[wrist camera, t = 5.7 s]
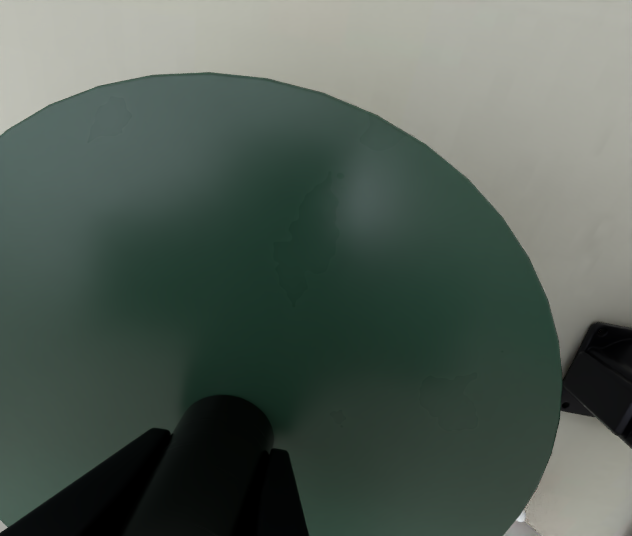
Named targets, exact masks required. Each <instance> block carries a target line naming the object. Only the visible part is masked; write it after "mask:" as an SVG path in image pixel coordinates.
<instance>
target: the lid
mask: <svg viewBox="0 0 632 536" xmlns="http://www.w3.org/2000/svg"><path fill="white" fill-rule="evenodd" d="M562 383H563V380H562V369H561V358H560V347H559V340H558V336H557V332H556V328H555V325H554V321H553V317H552V313H551V309H550V306H549V302H548V299H547V297H546V295H545V292H544V290H543V288H542V286H541V283H540V281H539V279H538V277H537V274H536V272H535V270H534V268H533V265H532V263H531V261H530V259H529V257H528V255H527V254H526V252H525V251H524V249H523V248H522V246H521V245H520V243H519V242H518V240H517V239H516V237H515V235H514V234H513V232H512V231H511V229H510V228H509V226H508V225H507V223H506V222H505V220H504V219H503V217H502V216H501V215H500V214H499V213H498V212H497V211H496V209H495V208H494V207H493V206H492V205H491V204H490V203H489V202H488V201H487V199H486V198H485V197H484V196H483V195H482V194H481V193H480V192H479V191H478V189H477V188H476V187H475V186H474V185H473V184H472V183H471V182H470V181H469V179H467V178H466V177H465V176H464V175H463V174H461V173H460V172H459V171H458V170H457V169H455V168H454V167H453V166H452V165H450V164H449V163H448V162H447V161H446V160H444V159H443V158H442V157H441V156H439V155H438V154H437V153H436V152H435V151H433V150H432V149H431V148H430V147H429V146H427V145H426V144H424V143H423V142H421V141H419V140H418V139H416V138H414V137H413V136H411V135H409V134H408V133H406V132H404V131H403V130H401V129H399V128H398V127H396V126H394V125H393V124H391V123H389V122H388V121H386V120H384V119H383V118H381V117H379V116H378V115H376V114H373V113H371V112H368V111H366V110H364V109H361V108H359V107H356V106H354V105H352V104H349V103H347V102H344V101H342V100H340V99H337V98H335V97H332V96H330V95H328V94H325V93H322V92H318V91H315V90H311V89H307V88H303V87H299V86H295V85H291V84H287V83H283V82H279V81H276V80H272V79H268V78H259V77H250V76H240V75H231V74H221V73H211V72H204V73H183V74H161V75H150V76H145V77H140V78H135V79H130V80H125V81H120V82H115V83H110V84H106V85H101V86H97V87H95V88H92V89H89V90H87V91H84V92H82V93H79V94H76V95H74V96H71V97H69V98H66V99H63V100H61V101H58V102H55V103H53V104H50V105H48V106H47V107H45V108H43V109H41V110H40V111H38V112H36V113H35V114H33V115H31V116H30V117H28V118H26V119H25V120H23V121H21V122H20V123H18V124H16V125H14V126H13V127H11V128H9V129H8V130H6V131H5V132H4V133H3V134H2V135H1V136H0V520H1V521H2V522H3V523H4V524H5V525H6V526H7V527H9V526H11V525H12V524H14V523H15V522H17V521H18V520H19V519H21V518H22V517H24V516H25V515H27V514H28V513H30V512H31V511H32V510H34V509H35V508H37V507H38V506H40V505H41V504H43V503H44V502H45V501H47V500H48V499H50V498H51V497H53V496H54V495H55V494H57V493H58V492H60V491H61V490H63V489H64V488H66V487H67V486H68V485H70V484H71V483H73V482H74V481H76V480H77V479H79V478H80V477H81V476H83V475H84V474H86V473H87V472H89V471H90V470H91V469H93V468H94V467H96V466H97V465H99V464H100V463H102V462H103V461H104V460H106V459H107V458H109V457H110V456H112V455H113V454H115V453H116V452H117V451H119V450H120V449H122V448H123V447H125V446H126V445H127V444H129V443H130V442H132V441H133V440H135V439H136V438H138V437H139V436H140V435H142V434H143V433H145V432H146V431H148V430H149V429H151V428H162V429H167V430H169V431H170V433H171V436H170V437H169V439H168V441H167V442H166V444H165V446H164V447H163V449H162V450H161V452H160V454H159V455H158V457H157V459H156V460H155V462H154V464H153V465H152V467H151V469H150V470H149V472H148V473H147V475H146V477H145V478H144V480H143V482H142V483H141V485H140V487H139V488H138V490H137V492H136V493H135V495H134V496H133V498H132V500H131V501H130V503H129V505H128V506H127V508H126V510H125V511H124V513H123V514H122V516H121V518H120V519H119V521H118V523H117V524H116V526H115V528H114V529H113V531H112V533H111V534H110V536H254V531H255V524H256V517H257V511H258V505H259V499H260V494H261V489H262V485H263V480H264V476H265V472H266V467H267V463H268V459H269V454H270V451H271V449H272V448H277V449H283V450H287V451H288V453H289V456H290V460H291V464H292V468H293V472H294V476H295V480H296V484H297V488H298V492H299V496H300V500H301V504H302V508H303V512H304V517H305V521H306V525H307V529H308V533H309V536H503V535H504V534H505V533H506V532H507V530H508V529H509V528H510V527H511V526H512V524H513V523H514V522H515V521H516V520H517V518H518V517H519V516H520V515H521V513H522V511H523V510H524V508H525V506H526V505H527V503H528V502H529V500H530V498H531V497H532V495H533V493H534V492H535V490H536V488H537V487H538V485H539V482H540V480H541V478H542V475H543V473H544V470H545V468H546V466H547V463H548V461H549V458H550V456H551V453H552V449H553V445H554V441H555V437H556V433H557V429H558V425H559V420H560V410H561V397H562Z"/></svg>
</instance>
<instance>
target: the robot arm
mask: <svg viewBox="0 0 632 536" xmlns="http://www.w3.org/2000/svg"><path fill="white" fill-rule="evenodd" d="M601 329H602V330H601ZM600 330H601V331H600ZM599 331H600V332H599ZM598 332H599V333H598ZM561 411H564V412H570V413H575V414H581V415H586V416H592V417H596V418H597V419H598V420H600V421H601V422H602V423H603V424H604V425H605V426H606V427H607V428H608V429H609V430H610V431H611V432H612V433H614V434H615V435H617V436H618V437H620V438H621V439H622V440H623V441H624V442H625V443H626V444H627V445H628V446H629V447H630V448H631V449H632V328H629V327H623V326H618V325H613V324H607V323H602V322H597V323H594V324H593V325H591V327H590V328H589V330H588V332H587V334H586V336H585V338H584V340H583V342H582V344H581V346H580V348H579V350H578V352H577V354H576V356H575V358H574V360H573V363H572V365H571V367H570V369H569V371H568V373H567V375H566V377H565V379H564V381H563V383H562V397H561ZM170 436H171V433H170V431H169V430H167V429H162V428H151V429H149V430H148V431H146V432H145V433H143V434H142V435H140V436H139V437H138V438H136V439H135V440H133V441H132V442H130V443H129V444H127V445H126V446H125V447H123V448H122V449H120V450H119V451H117V452H116V453H115V454H113V455H112V456H110V457H109V458H107V459H106V460H104V461H103V462H102V463H100V464H99V465H97V466H96V467H94V468H93V469H91V470H90V471H89V472H87V473H86V474H84V475H83V476H81V477H80V478H79V479H77V480H76V481H74V482H73V483H71V484H70V485H68V486H67V487H66V488H64V489H63V490H61V491H60V492H58V493H57V494H55V495H54V496H53V497H51V498H50V499H48V500H47V501H45V502H44V503H43V504H41V505H40V506H38V507H37V508H35V509H34V510H32V511H31V512H30V513H28V514H27V515H25V516H24V517H22V518H21V519H19V520H18V521H17V522H15V523H14V524H12V525H11V526H9V527H8V528H7V529H5V530H4V531H2V532H1V533H0V536H110V534H111V533H112V531H113V529H114V528H115V526H116V524H117V523H118V521H119V519H120V518H121V516H122V514H123V513H124V511H125V510H126V508H127V506H128V505H129V503H130V501H131V500H132V498H133V496H134V495H135V493H136V492H137V490H138V488H139V487H140V485H141V483H142V482H143V480H144V478H145V477H146V475H147V473H148V472H149V470H150V469H151V467H152V465H153V464H154V462H155V460H156V459H157V457H158V455H159V454H160V452H161V450H162V449H163V447H164V446H165V444H166V442H167V441H168V439H169V437H170ZM254 536H309V533H308V529H307V525H306V521H305V517H304V512H303V508H302V504H301V500H300V496H299V492H298V488H297V484H296V480H295V476H294V472H293V468H292V464H291V460H290V456H289V453H288V451H287V450H283V449H277V448H272V449H271V451H270V454H269V459H268V463H267V467H266V472H265V476H264V480H263V485H262V489H261V494H260V499H259V505H258V511H257V517H256V524H255V531H254Z"/></svg>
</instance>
